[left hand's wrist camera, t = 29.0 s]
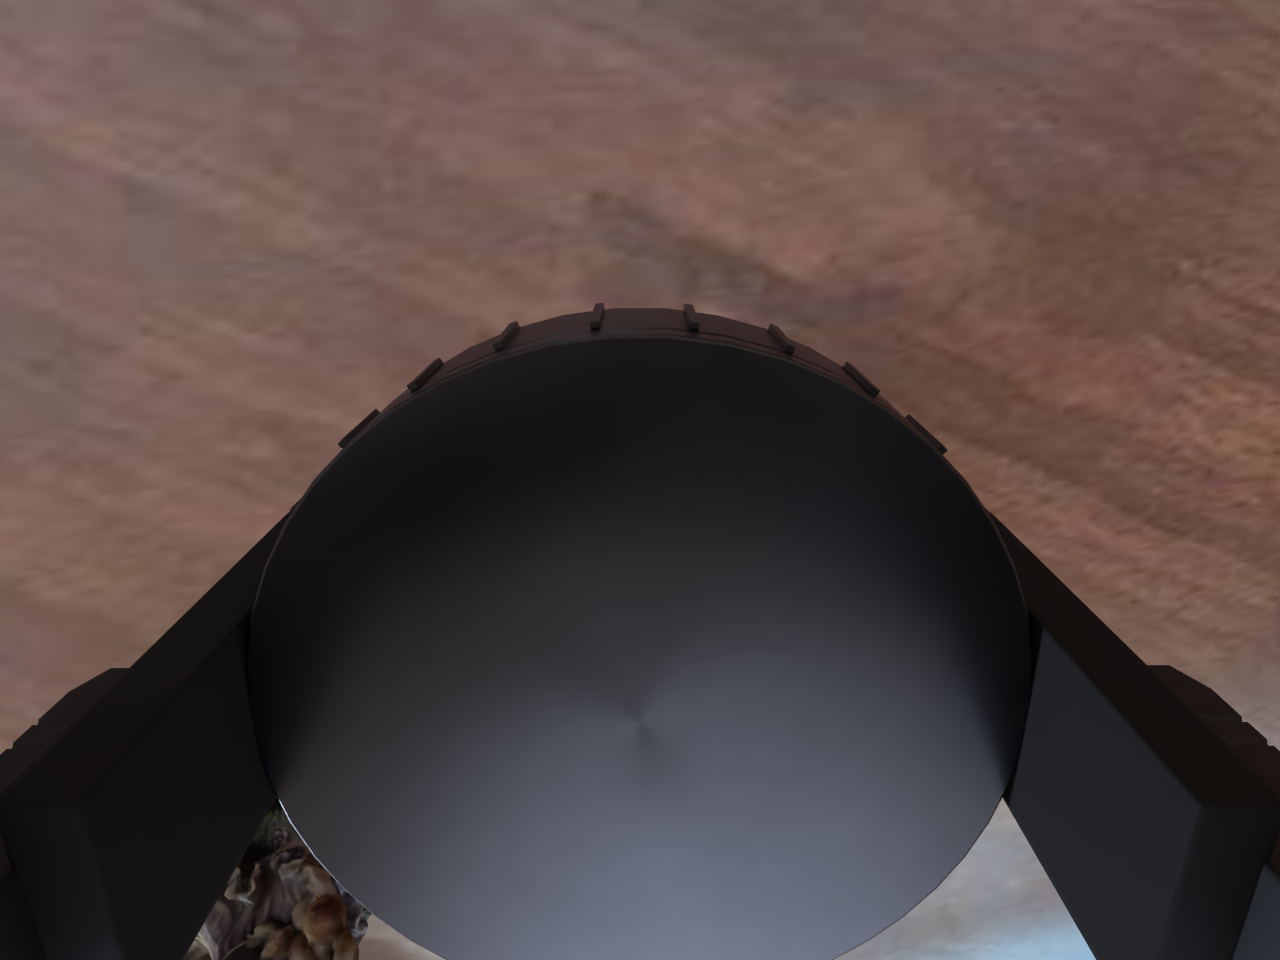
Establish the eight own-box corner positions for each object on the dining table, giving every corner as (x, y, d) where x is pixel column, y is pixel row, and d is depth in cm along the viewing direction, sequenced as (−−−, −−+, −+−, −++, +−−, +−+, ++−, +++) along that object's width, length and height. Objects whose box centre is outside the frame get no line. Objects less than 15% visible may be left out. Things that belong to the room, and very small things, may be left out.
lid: (452, 158, 10) (412, 157, 8) (1122, 501, 11) (1209, 560, 10) (214, 769, 13) (148, 862, 11) (768, 975, 14) (786, 1086, 13)
